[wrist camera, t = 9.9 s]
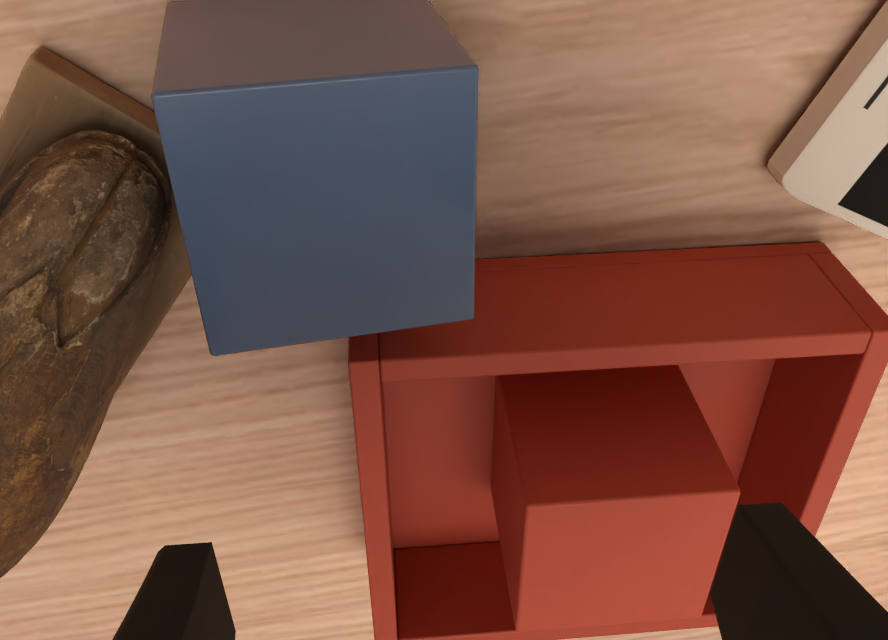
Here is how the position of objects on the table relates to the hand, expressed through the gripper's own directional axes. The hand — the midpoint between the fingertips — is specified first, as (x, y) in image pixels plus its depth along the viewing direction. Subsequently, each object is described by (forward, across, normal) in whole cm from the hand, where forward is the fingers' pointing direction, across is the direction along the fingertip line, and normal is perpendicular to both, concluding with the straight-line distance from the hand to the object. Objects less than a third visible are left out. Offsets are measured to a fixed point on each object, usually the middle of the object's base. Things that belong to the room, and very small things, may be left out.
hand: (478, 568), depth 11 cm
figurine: (+9, +10, +2) cm, 13 cm away
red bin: (+9, -4, +6) cm, 11 cm away
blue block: (+8, +2, -3) cm, 9 cm away
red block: (+8, -4, +6) cm, 11 cm away
